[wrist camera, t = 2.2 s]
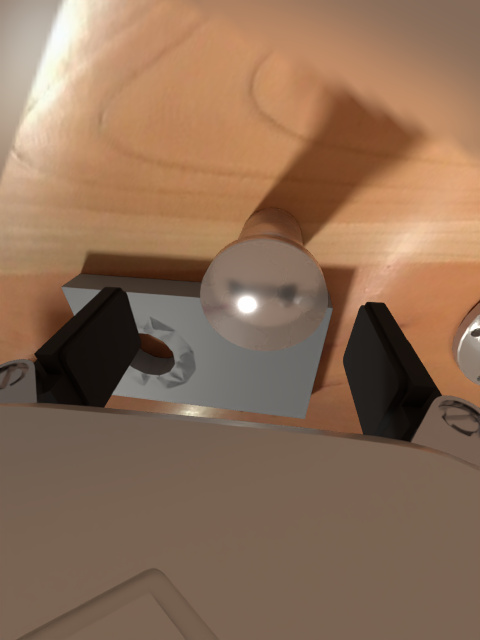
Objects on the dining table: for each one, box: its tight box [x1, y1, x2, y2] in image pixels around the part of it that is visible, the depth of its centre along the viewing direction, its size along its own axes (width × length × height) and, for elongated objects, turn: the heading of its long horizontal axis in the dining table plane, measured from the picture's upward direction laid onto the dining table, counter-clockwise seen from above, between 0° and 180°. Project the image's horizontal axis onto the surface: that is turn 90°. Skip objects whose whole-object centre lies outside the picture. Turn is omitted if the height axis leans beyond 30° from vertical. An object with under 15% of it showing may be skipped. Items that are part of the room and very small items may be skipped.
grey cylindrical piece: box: [200, 208, 328, 351], centre depth 16 cm, size 6×6×9 cm
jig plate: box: [62, 274, 333, 419], centre depth 26 cm, size 22×14×2 cm, turn 90°
